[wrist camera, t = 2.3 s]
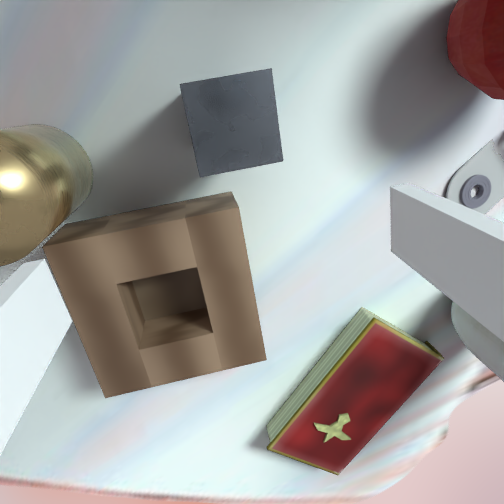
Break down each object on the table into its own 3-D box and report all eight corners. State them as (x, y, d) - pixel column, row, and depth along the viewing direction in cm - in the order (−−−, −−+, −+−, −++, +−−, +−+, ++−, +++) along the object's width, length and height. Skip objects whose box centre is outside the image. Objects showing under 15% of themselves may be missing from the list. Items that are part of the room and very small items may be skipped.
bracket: (431, 189, 40) (452, 197, 37) (508, 122, 39) (536, 123, 35) (459, 230, 43) (481, 240, 39) (532, 167, 41) (561, 173, 38)
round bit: (75, 116, 32) (15, 124, 21) (104, 205, 35) (66, 252, 24) (-21, 133, 31) (-136, 150, 20) (17, 222, 34) (-64, 279, 23)
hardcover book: (427, 340, 48) (448, 361, 44) (330, 450, 53) (341, 478, 49) (359, 301, 44) (376, 320, 40) (261, 424, 49) (267, 451, 45)
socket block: (231, 191, 36) (238, 207, 31) (256, 326, 43) (266, 359, 37) (65, 224, 35) (42, 246, 30) (116, 358, 41) (105, 398, 36)
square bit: (239, 81, 33) (271, 68, 20) (248, 139, 35) (283, 161, 22) (183, 91, 32) (179, 84, 20) (196, 149, 34) (200, 177, 22)
